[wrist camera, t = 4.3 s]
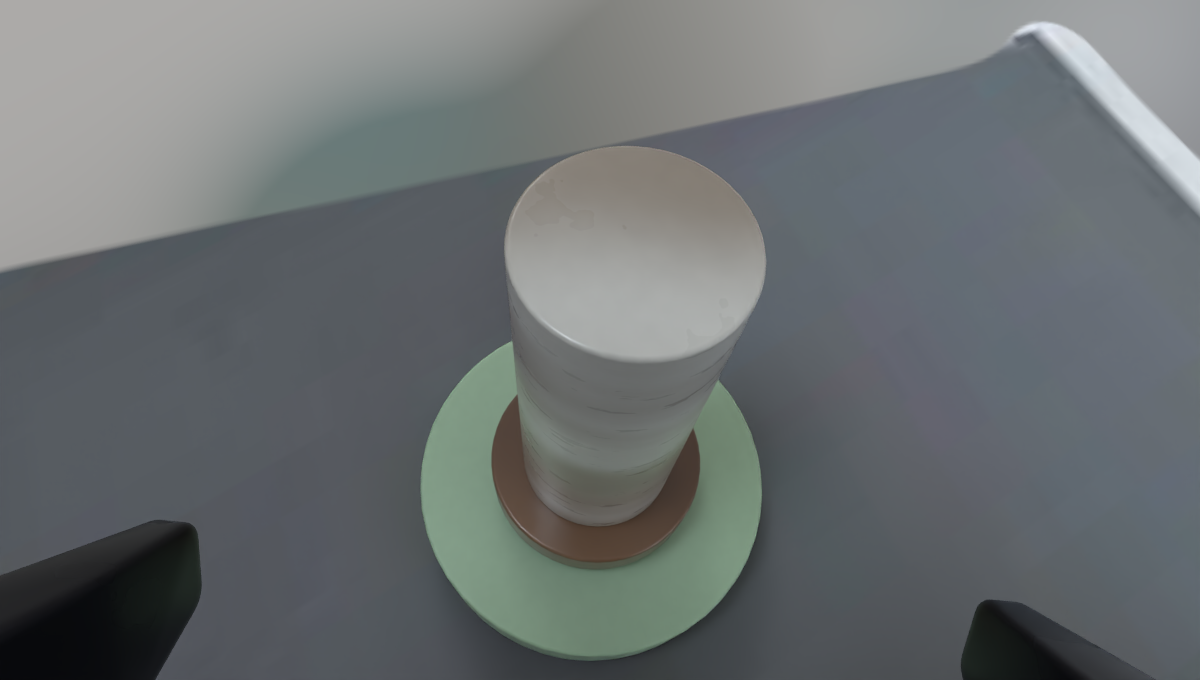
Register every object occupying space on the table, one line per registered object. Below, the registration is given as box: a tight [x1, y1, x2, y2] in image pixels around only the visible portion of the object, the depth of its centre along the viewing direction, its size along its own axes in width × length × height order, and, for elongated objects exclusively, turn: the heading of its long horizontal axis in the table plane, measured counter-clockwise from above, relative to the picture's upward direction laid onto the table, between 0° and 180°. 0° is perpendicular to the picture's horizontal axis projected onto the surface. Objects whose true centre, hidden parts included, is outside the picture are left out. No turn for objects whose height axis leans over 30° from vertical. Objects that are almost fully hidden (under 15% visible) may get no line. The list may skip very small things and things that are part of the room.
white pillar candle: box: [491, 146, 766, 570], centre depth 15 cm, size 11×5×10 cm, turn 0°
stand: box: [420, 341, 762, 661], centre depth 19 cm, size 9×9×2 cm
